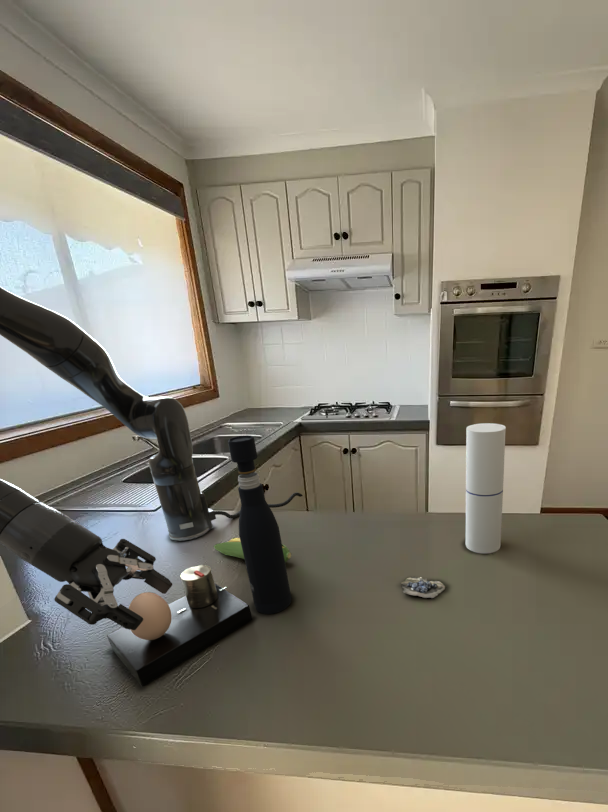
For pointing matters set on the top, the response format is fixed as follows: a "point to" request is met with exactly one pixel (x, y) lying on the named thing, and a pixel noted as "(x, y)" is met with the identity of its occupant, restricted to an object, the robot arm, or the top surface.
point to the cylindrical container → (484, 486)
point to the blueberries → (422, 587)
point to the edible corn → (236, 550)
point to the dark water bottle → (259, 533)
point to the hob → (180, 635)
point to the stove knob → (199, 586)
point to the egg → (151, 615)
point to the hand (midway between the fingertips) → (155, 605)
